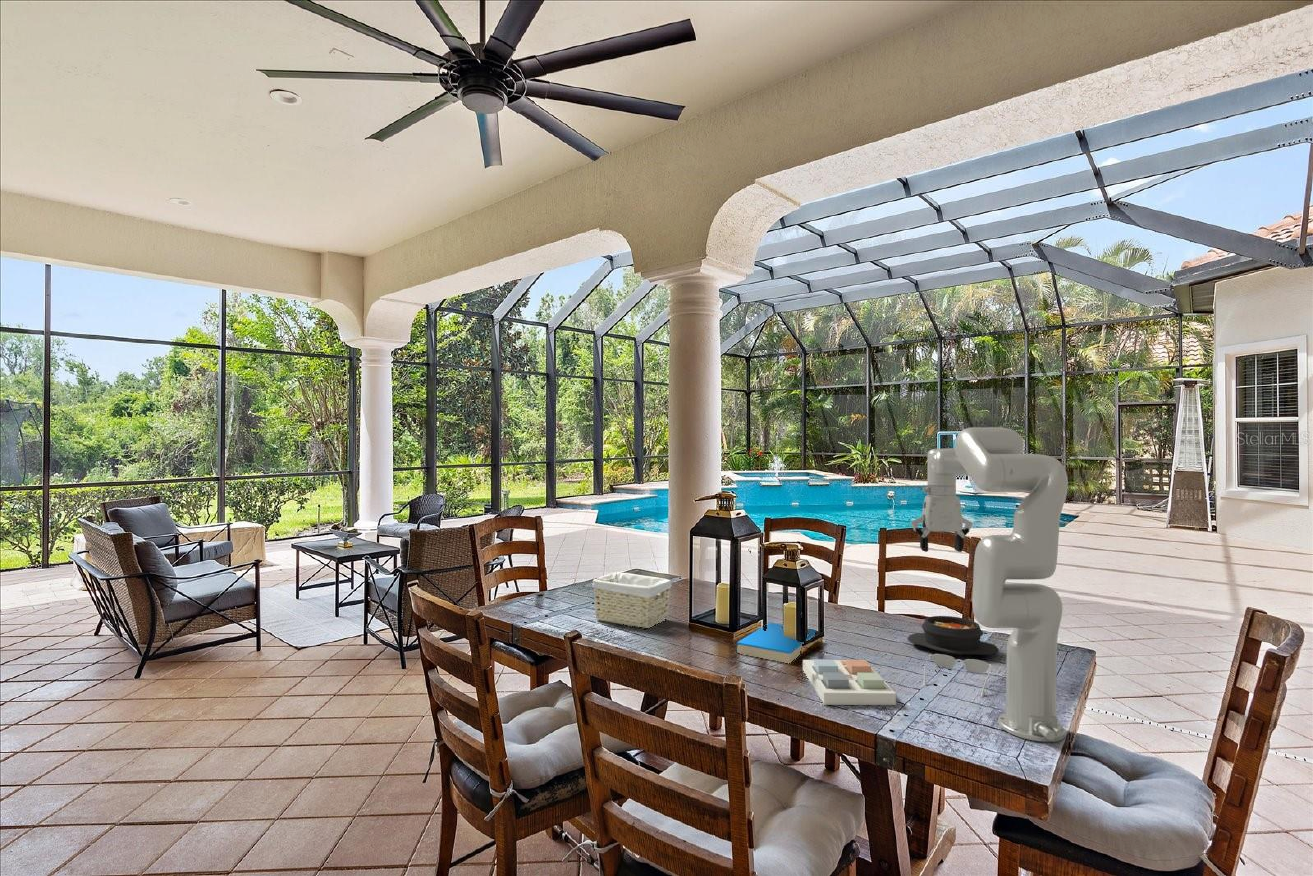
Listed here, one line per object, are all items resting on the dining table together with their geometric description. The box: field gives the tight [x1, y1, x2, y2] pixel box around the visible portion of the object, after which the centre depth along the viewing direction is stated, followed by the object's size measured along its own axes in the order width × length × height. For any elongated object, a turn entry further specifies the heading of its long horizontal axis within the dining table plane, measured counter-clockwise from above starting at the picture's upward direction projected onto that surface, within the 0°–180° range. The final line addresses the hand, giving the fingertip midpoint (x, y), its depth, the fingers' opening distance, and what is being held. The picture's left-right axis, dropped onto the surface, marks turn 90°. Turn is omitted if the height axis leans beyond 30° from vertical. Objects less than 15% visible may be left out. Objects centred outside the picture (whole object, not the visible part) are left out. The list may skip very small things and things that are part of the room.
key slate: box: [823, 672, 849, 689], centre depth 158 cm, size 5×5×2 cm
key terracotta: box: [845, 659, 872, 675], centre depth 167 cm, size 5×5×2 cm
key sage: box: [857, 672, 885, 689], centre depth 158 cm, size 5×5×2 cm
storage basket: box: [591, 571, 672, 629], centre depth 224 cm, size 24×16×15 cm
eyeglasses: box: [922, 653, 992, 698], centre depth 169 cm, size 15×18×4 cm
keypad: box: [802, 659, 897, 706], centre depth 164 cm, size 23×17×3 cm
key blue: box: [813, 658, 838, 675], centre depth 167 cm, size 5×5×2 cm
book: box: [735, 622, 817, 665], centre depth 195 cm, size 17×4×25 cm
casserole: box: [907, 615, 1000, 656], centre depth 194 cm, size 25×19×8 cm
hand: (941, 551), depth 185 cm, fingers open, 9 cm apart
